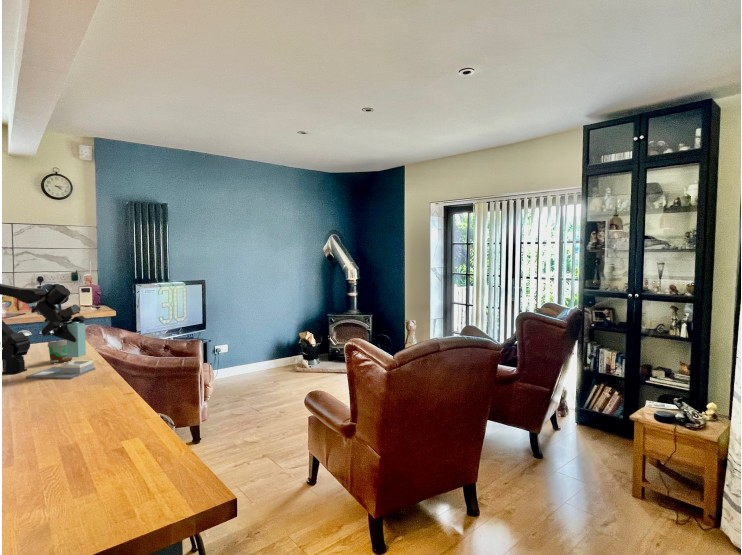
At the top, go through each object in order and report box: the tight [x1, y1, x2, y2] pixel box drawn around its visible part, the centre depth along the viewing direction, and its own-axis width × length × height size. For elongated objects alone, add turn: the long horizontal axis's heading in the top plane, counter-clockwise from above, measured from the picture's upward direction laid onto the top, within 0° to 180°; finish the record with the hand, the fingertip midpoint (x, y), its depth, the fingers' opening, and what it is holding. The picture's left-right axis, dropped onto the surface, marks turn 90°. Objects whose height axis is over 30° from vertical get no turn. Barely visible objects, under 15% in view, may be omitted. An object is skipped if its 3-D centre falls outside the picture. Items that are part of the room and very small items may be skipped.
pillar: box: [67, 322, 87, 358], centre depth 178 cm, size 4×4×14 cm
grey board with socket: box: [25, 359, 96, 380], centre depth 176 cm, size 18×14×4 cm
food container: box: [47, 339, 73, 365], centre depth 196 cm, size 12×6×10 cm, turn 179°
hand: (79, 340), depth 178 cm, fingers closed on pillar, 4 cm apart
